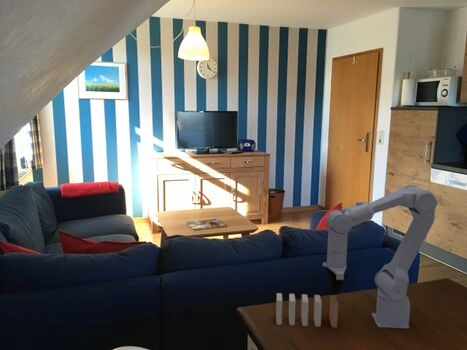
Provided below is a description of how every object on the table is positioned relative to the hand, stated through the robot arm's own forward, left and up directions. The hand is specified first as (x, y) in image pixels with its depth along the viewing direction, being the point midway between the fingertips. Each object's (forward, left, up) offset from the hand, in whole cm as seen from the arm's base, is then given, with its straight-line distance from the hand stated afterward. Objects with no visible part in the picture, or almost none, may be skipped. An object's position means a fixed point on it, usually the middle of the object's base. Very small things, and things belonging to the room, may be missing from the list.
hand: (334, 292), depth 124 cm
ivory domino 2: (+13, 0, -10) cm, 17 cm away
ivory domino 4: (+5, 0, -10) cm, 12 cm away
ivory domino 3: (+9, 0, -10) cm, 14 cm away
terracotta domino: (0, 0, -10) cm, 10 cm away
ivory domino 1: (+17, 0, -10) cm, 20 cm away
